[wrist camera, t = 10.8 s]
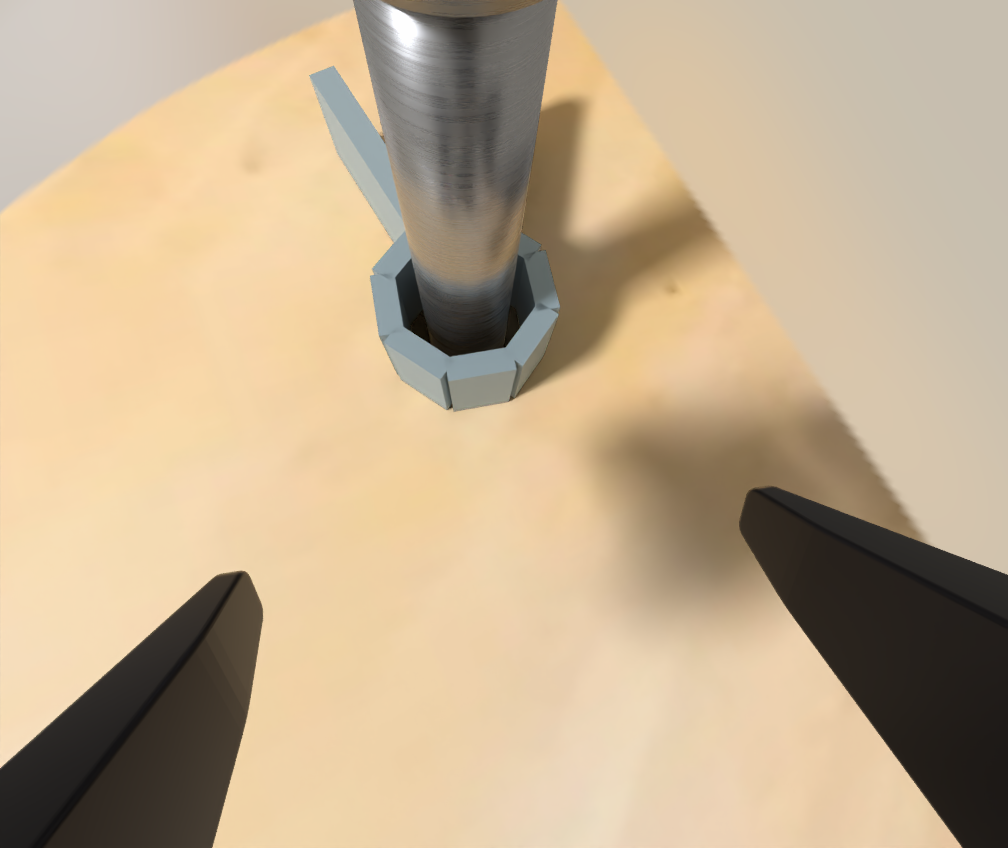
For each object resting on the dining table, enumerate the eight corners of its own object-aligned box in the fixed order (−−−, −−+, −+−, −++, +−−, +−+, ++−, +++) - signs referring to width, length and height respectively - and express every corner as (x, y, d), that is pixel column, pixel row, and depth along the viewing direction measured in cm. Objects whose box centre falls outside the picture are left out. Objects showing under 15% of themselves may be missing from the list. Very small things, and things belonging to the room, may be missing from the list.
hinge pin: (529, 361, 18) (689, -145, 5) (442, 397, 18) (337, -61, 4) (490, 283, 19) (532, -347, 5) (406, 315, 18) (214, -303, 5)
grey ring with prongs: (581, 388, 18) (606, 353, 15) (376, 425, 17) (352, 397, 14) (514, 126, 21) (521, 47, 18) (336, 146, 20) (308, 68, 17)
